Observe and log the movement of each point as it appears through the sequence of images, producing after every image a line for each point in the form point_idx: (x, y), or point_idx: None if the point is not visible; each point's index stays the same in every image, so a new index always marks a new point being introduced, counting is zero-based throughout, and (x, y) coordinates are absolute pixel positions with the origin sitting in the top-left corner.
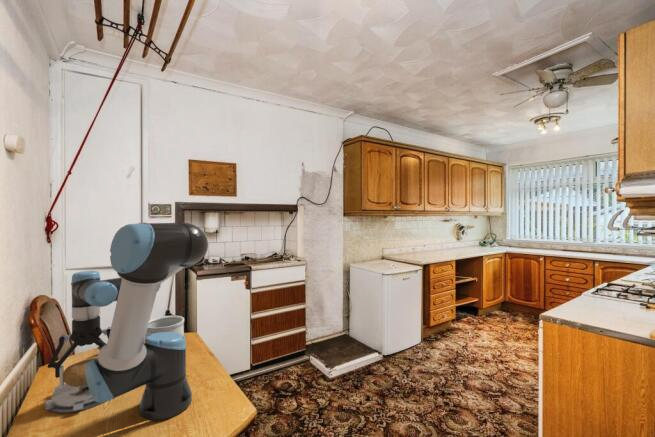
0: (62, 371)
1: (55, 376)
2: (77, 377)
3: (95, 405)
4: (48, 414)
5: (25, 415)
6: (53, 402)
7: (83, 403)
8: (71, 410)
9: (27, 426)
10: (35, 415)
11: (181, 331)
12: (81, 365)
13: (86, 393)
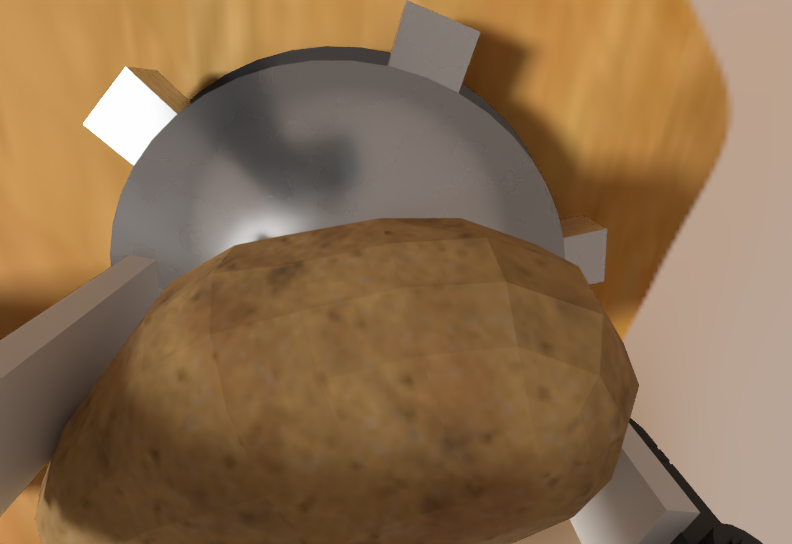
0: (627, 452)
1: (641, 430)
2: (478, 229)
3: (311, 49)
4: (566, 192)
5: (642, 275)
6: (565, 234)
7: (399, 25)
8: (468, 89)
9: (684, 122)
10: (613, 236)
11: None
12: (430, 428)
13: (363, 188)
